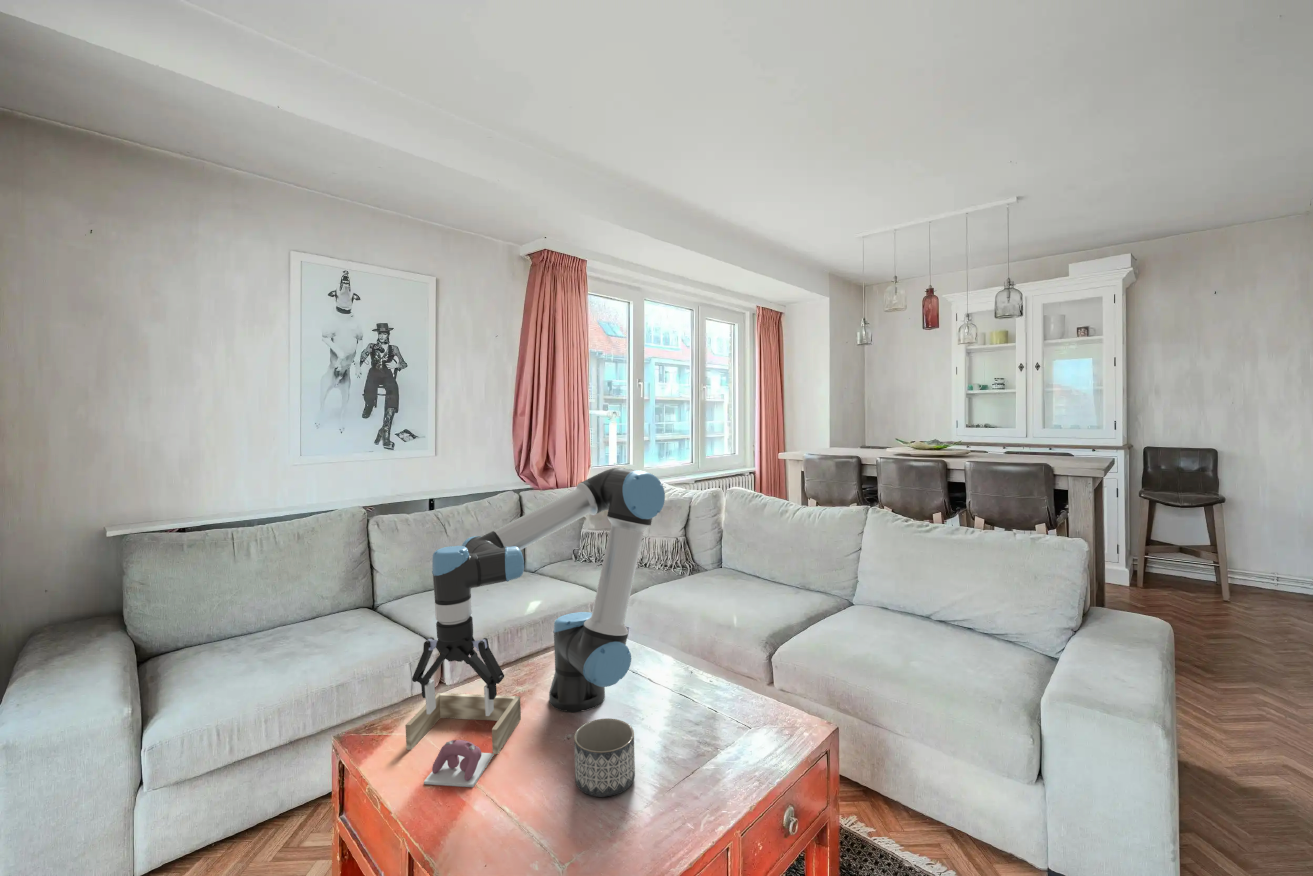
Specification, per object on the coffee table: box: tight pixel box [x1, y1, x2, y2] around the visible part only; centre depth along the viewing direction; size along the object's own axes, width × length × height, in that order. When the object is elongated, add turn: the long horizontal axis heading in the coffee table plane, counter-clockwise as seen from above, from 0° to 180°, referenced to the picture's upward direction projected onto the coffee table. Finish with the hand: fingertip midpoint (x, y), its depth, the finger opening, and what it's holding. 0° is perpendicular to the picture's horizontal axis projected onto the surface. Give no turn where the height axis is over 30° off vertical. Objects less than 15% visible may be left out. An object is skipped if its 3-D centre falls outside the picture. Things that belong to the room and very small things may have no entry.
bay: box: [405, 692, 522, 755], centre depth 142 cm, size 22×15×6 cm
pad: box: [423, 752, 495, 788], centre depth 128 cm, size 11×11×1 cm
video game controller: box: [431, 739, 482, 781], centre depth 127 cm, size 10×5×7 cm, turn 72°
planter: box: [573, 718, 636, 798], centre depth 123 cm, size 13×13×10 cm
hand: (460, 712), depth 128 cm, fingers open, 13 cm apart
